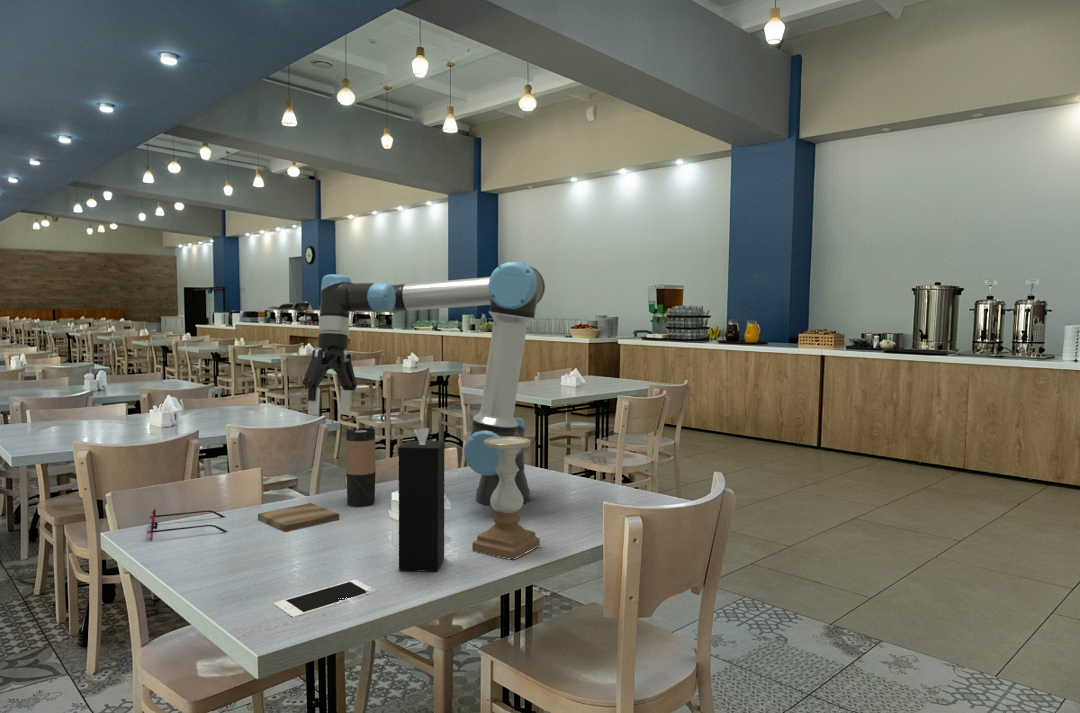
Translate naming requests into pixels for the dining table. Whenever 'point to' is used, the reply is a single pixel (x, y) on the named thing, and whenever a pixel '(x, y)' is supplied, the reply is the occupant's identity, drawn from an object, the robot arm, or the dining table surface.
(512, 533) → the candle holder
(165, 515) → the glasses
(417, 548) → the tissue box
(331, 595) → the cell phone
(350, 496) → the travel mug
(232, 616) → the dining table surface
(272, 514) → the walnut board
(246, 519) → the dining table surface
